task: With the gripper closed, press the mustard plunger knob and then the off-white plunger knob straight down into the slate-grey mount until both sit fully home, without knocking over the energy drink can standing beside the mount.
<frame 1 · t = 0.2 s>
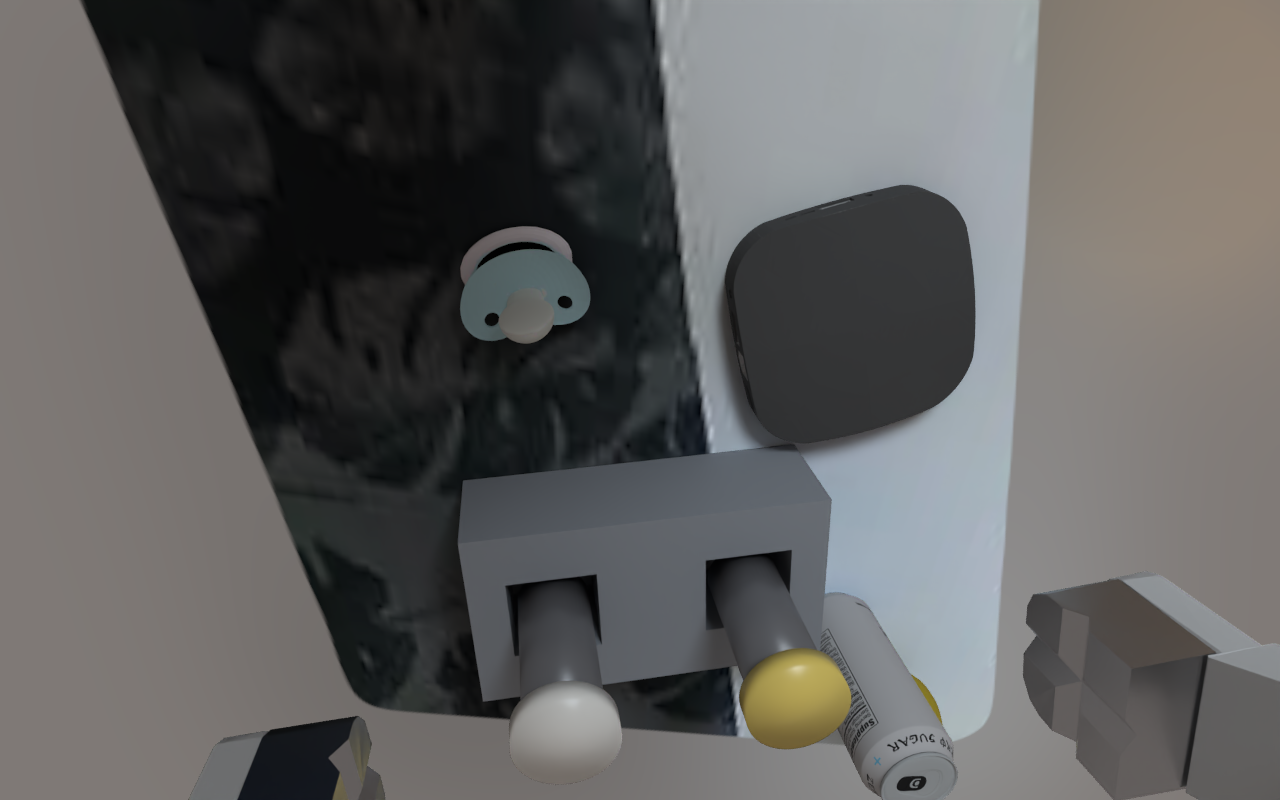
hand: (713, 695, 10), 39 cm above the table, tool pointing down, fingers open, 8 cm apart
knob mustard: (766, 634, 47), point 11 cm above the table, slide at 4.0 cm
knob white: (559, 662, 46), point 11 cm above the table, slide at 4.0 cm
mount: (636, 537, 56), on the table
energy drink can: (828, 616, 62), on the table
pacifier: (520, 275, 48), on the table
media streaming box: (842, 311, 52), on the table
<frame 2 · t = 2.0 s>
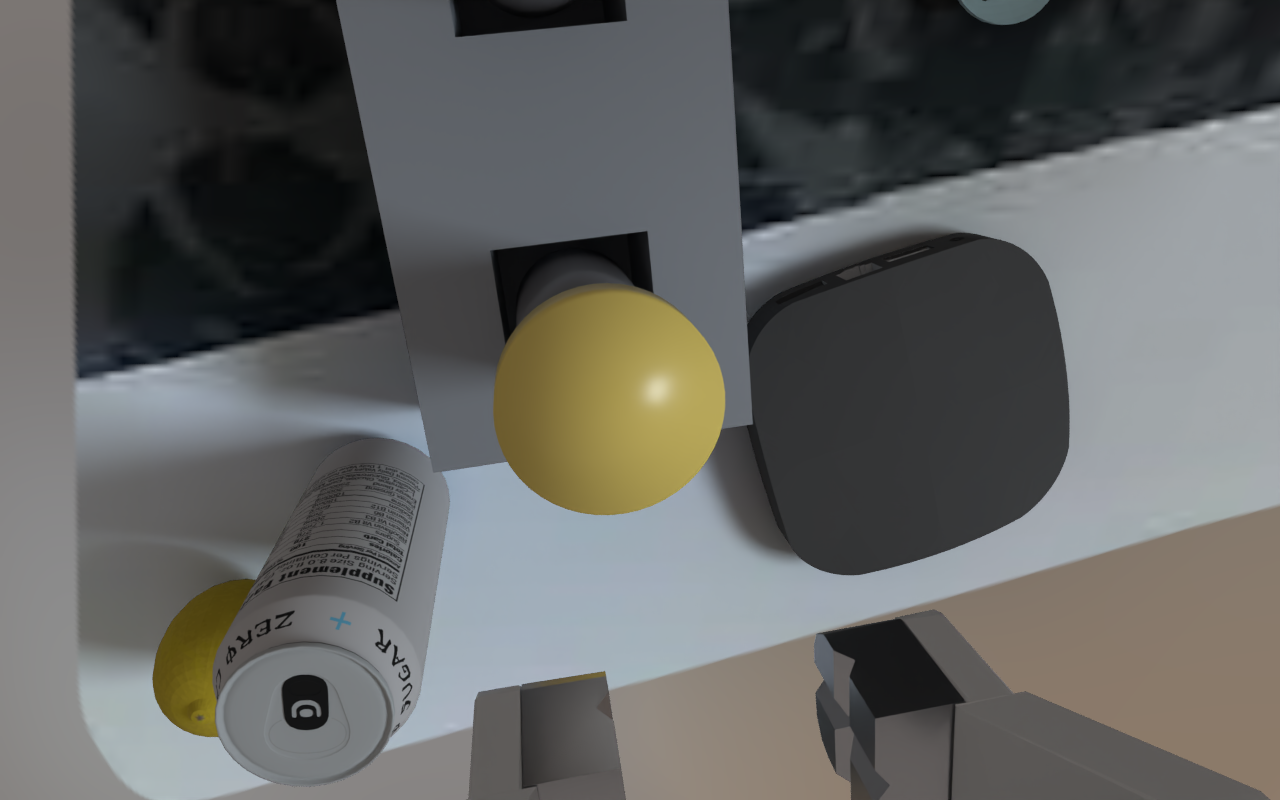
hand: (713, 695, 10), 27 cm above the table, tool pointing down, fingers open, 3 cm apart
knob mustard: (589, 347, 25), point 11 cm above the table, slide at 4.0 cm
mount: (547, 135, 33), on the table
lemon: (262, 598, 38), on the table
energy drink can: (384, 489, 37), on the table
media streaming box: (890, 399, 40), on the table
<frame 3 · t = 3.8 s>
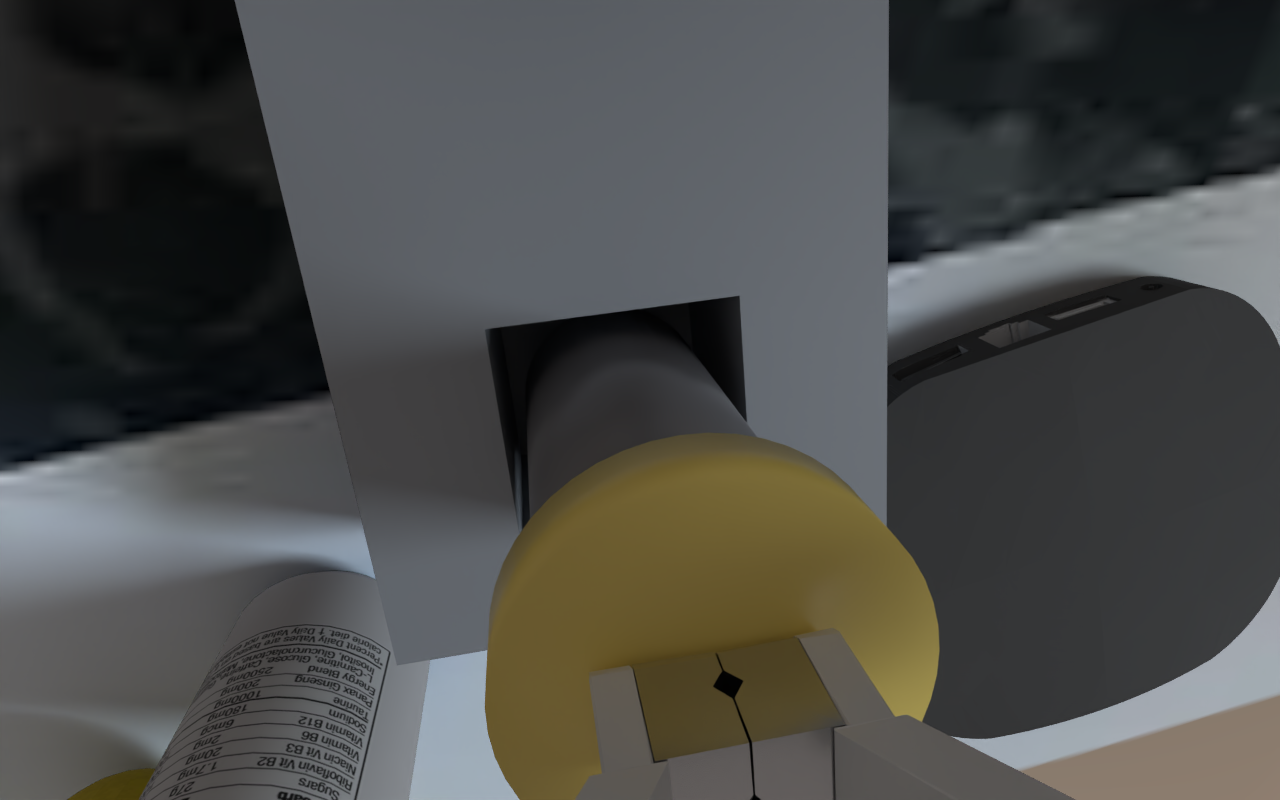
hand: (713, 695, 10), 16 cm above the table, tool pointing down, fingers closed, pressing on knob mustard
knob mustard: (648, 489, 15), point 10 cm above the table, slide at 3.0 cm, touching gripper
mount: (572, 138, 22), on the table
lemon: (172, 777, 28), on the table
energy drink can: (339, 633, 27), on the table
media streaming box: (1034, 499, 29), on the table
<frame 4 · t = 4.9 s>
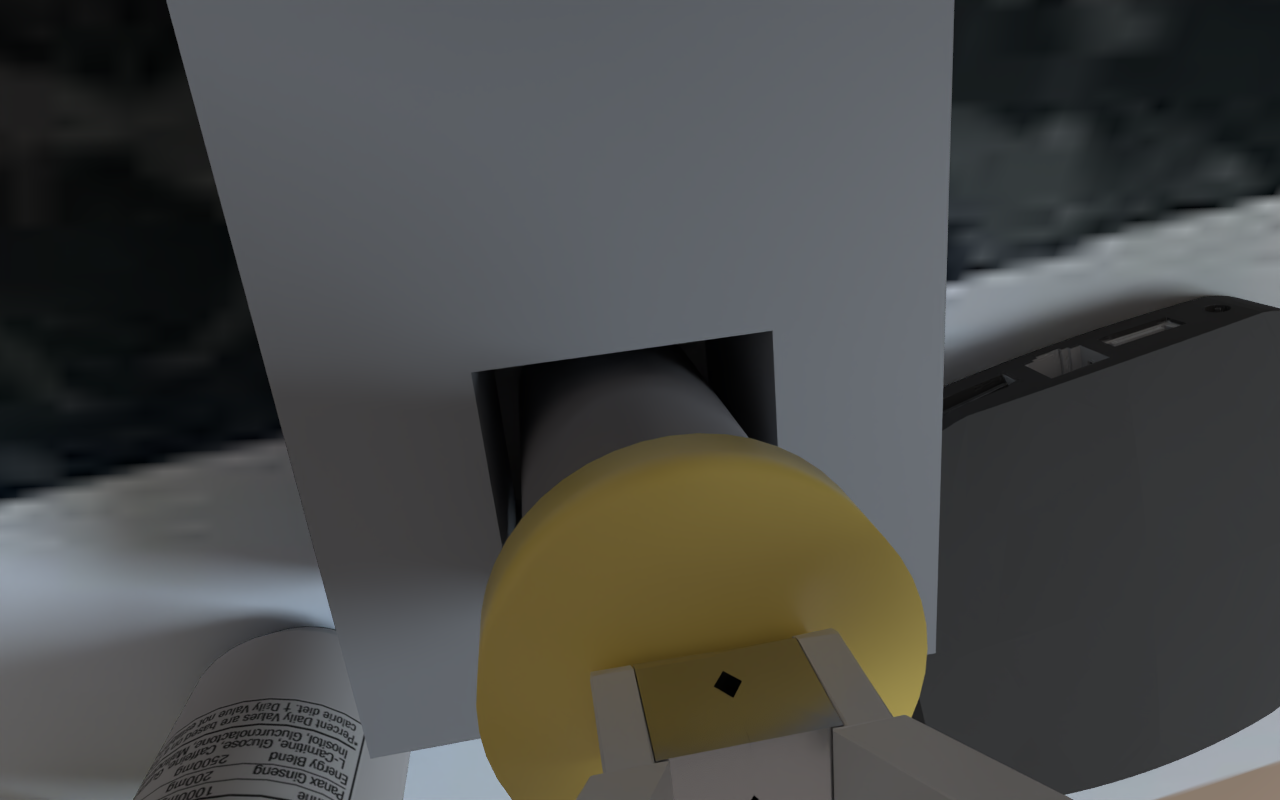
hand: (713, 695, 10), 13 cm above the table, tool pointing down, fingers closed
knob mustard: (640, 489, 15), point 7 cm above the table, slide at 0.0 cm
mount: (572, 144, 20), on the table
energy drink can: (313, 694, 24), on the table
media streaming box: (1080, 538, 27), on the table
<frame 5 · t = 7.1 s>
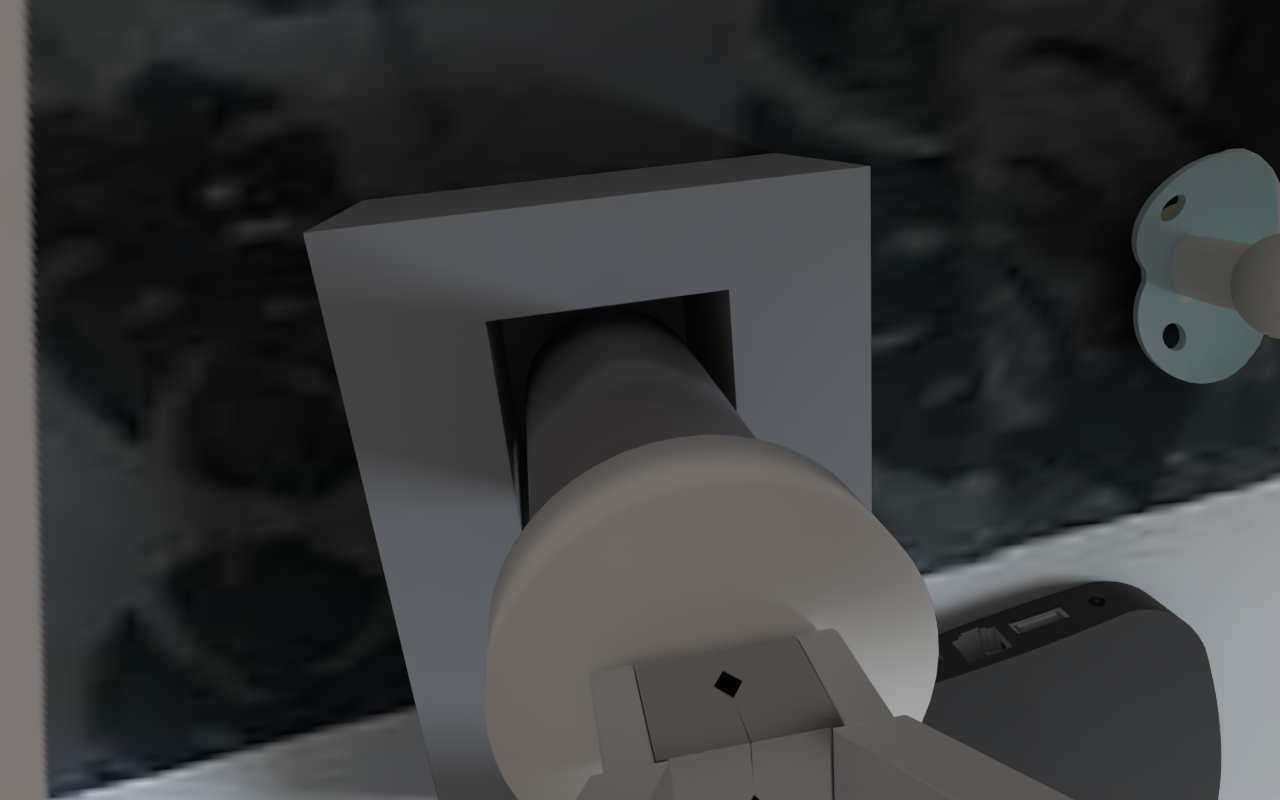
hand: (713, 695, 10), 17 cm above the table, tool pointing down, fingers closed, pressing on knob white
knob white: (647, 490, 15), point 11 cm above the table, slide at 3.8 cm, touching gripper
mount: (615, 513, 27), on the table
pacifier: (1186, 252, 28), on the table
media streaming box: (1004, 747, 34), on the table
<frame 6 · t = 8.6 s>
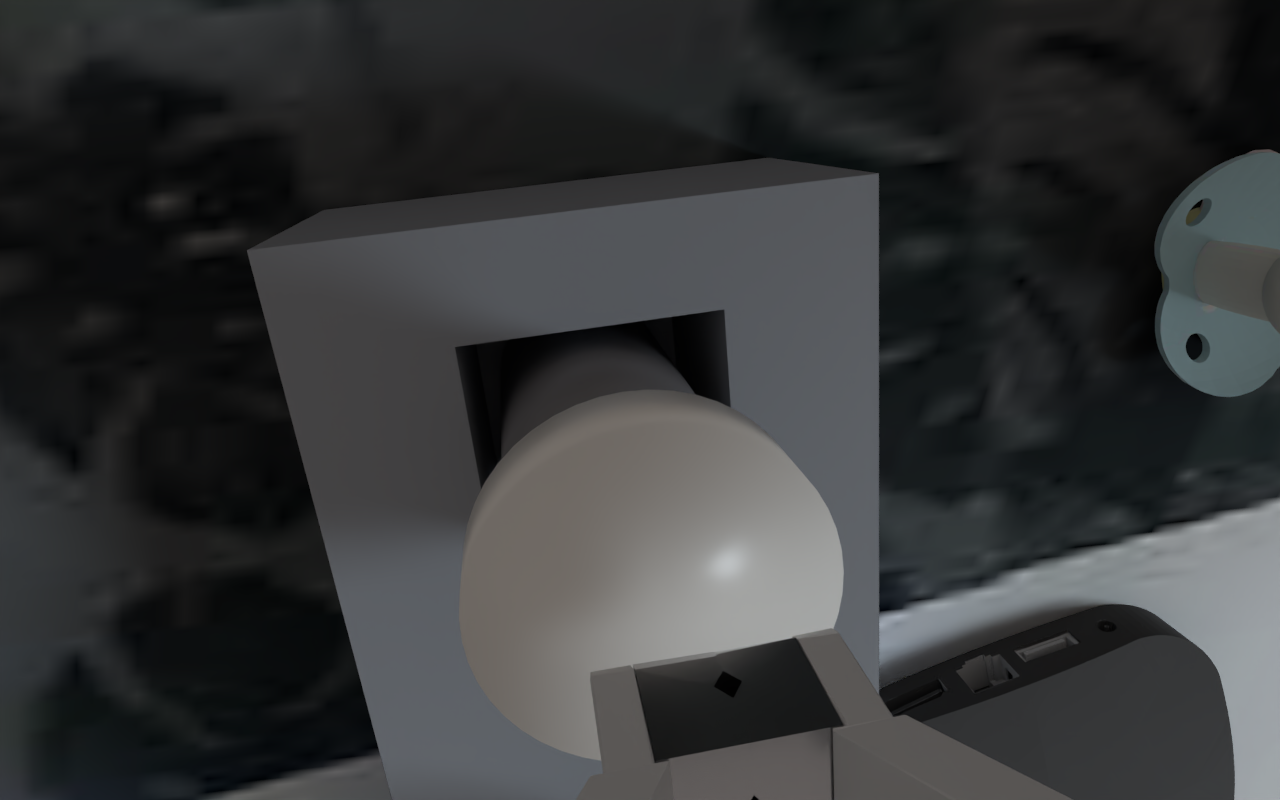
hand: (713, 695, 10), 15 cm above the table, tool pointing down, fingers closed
knob white: (608, 453, 17), point 7 cm above the table, slide at 0.0 cm
mount: (601, 541, 26), on the table
pacifier: (1207, 258, 26), on the table
media streaming box: (1008, 776, 33), on the table
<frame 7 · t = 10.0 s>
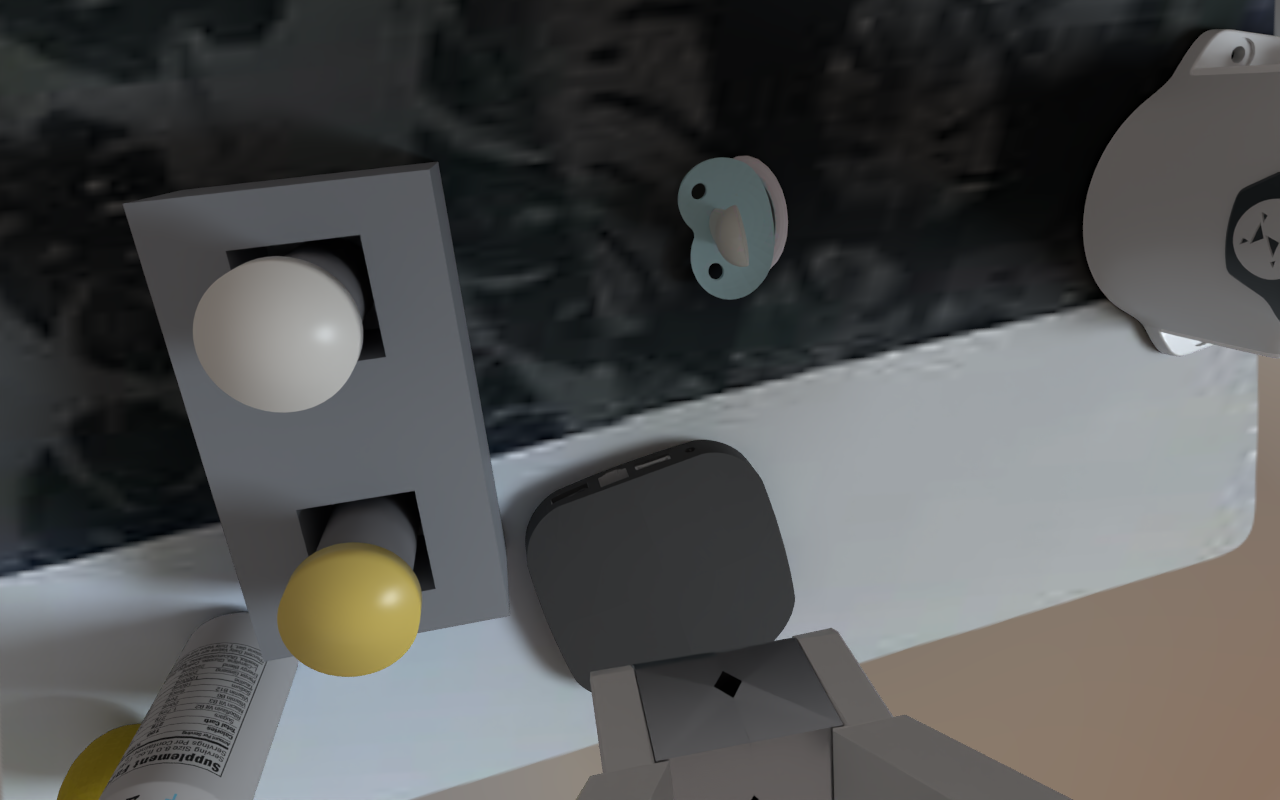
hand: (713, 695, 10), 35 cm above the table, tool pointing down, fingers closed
knob mustard: (367, 551, 39), point 7 cm above the table, slide at 0.0 cm
knob white: (308, 306, 35), point 7 cm above the table, slide at 0.0 cm
mount: (361, 387, 43), on the table
lemon: (152, 731, 48), on the table
energy drink can: (247, 646, 47), on the table
pacifier: (730, 219, 44), on the table
media streaming box: (658, 560, 51), on the table
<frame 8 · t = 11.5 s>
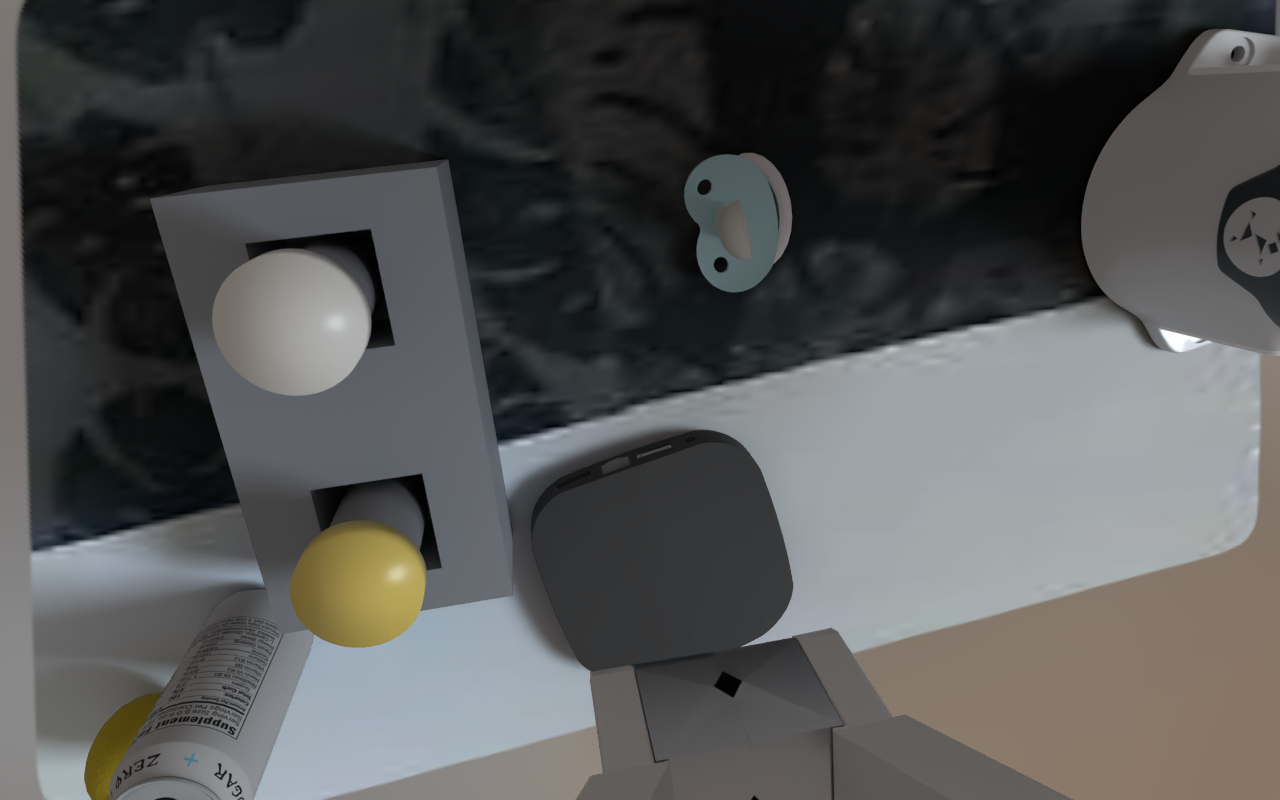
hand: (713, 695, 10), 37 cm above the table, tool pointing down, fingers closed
knob mustard: (377, 530, 41), point 7 cm above the table, slide at 0.0 cm
knob white: (322, 296, 37), point 7 cm above the table, slide at 0.0 cm
mount: (374, 375, 45), on the table
lemon: (176, 701, 50), on the table
energy drink can: (266, 622, 50), on the table
pacifier: (736, 215, 46), on the table
media streaming box: (660, 547, 52), on the table
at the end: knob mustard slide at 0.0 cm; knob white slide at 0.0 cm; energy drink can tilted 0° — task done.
